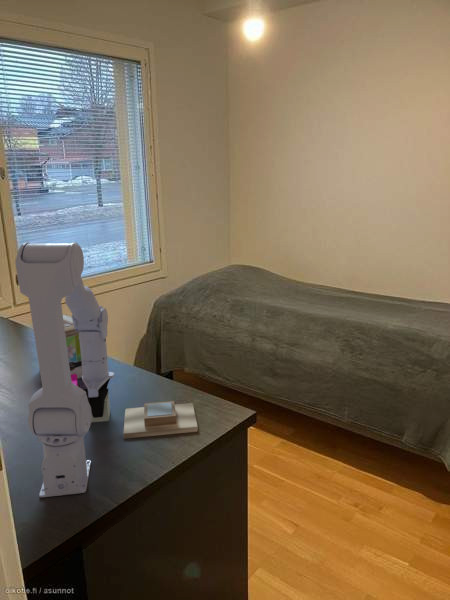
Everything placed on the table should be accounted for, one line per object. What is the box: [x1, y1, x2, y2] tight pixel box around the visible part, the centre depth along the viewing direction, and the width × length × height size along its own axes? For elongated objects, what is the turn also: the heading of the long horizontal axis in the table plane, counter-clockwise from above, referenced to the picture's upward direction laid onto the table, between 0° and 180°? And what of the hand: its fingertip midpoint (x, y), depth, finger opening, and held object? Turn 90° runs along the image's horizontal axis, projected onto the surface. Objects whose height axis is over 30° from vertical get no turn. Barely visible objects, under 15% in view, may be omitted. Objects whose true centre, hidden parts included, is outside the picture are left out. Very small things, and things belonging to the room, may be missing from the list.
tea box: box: [63, 314, 83, 380], centre depth 134 cm, size 15×10×15 cm, turn 47°
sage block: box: [91, 391, 111, 423], centre depth 110 cm, size 4×4×5 cm
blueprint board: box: [122, 400, 199, 439], centre depth 107 cm, size 11×16×3 cm
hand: (99, 411), depth 110 cm, fingers closed on sage block, 4 cm apart
